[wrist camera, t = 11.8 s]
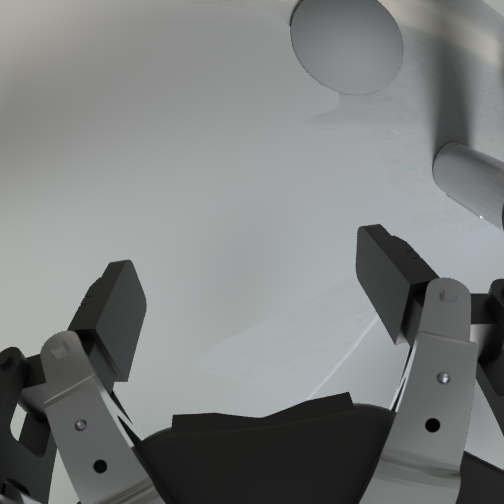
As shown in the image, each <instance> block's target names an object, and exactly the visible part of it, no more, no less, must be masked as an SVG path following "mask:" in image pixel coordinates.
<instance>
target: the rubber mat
mask: <svg viewBox="0 0 504 504" xmlns="http://www.w3.org/2000/svg"><path fill="white" fill-rule="evenodd" d="M290 32H291V41H292V46H293V49H294V52H295V54H296V56H297V58H298V60H299V62H300V63H301V65H302V66H303V68H304V69H305V70H306V71H307V72H308V73H309V74H310V75H311V76H312V77H313V78H314V79H315V80H316V81H318V82H319V83H321V84H322V85H324V86H326V87H328V88H329V89H332V90H334V91H337V92H340V93H344V94H350V95H365V94H370V93H373V92H376V91H379V90H381V89H382V88H384V87H385V86H387V85H388V84H389V83H390V82H391V81H392V80H393V79H394V78H395V76H396V75H397V73H398V71H399V70H400V67H401V64H402V60H403V51H404V50H403V40H402V36H401V33H400V30H399V28H398V25H397V23H396V22H395V20H394V18H393V17H392V15H391V14H390V13H389V12H388V10H387V9H386V8H385V7H384V6H383V5H382V4H380V3H379V2H378V1H377V0H303V2H302V3H301V4H300V5H299V6H298V8H297V9H296V11H295V13H294V16H293V18H292V22H291V31H290Z"/></svg>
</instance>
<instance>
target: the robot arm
mask: <svg viewBox="0 0 504 504" xmlns="http://www.w3.org/2000/svg"><path fill="white" fill-rule="evenodd" d="M433 175H434V180H435V182H436V184H437V186H438V187H439V188H440V189H441V190H443V191H444V192H446V193H447V195H448V197H450V198H451V199H453V200H454V201H456V202H457V203H459V204H460V205H462V206H463V207H465V208H466V209H468V210H469V211H470V212H472V213H473V214H475V215H476V216H478V217H479V218H482V217H483V218H484V219H486V220H487V221H488V222H490V223H491V224H493V225H494V226H495V227H497V228H498V229H499V230H501V231H502V232H503V233H504V162H502V161H500V160H497V159H495V158H493V157H491V156H488V155H486V154H484V153H481V152H479V151H477V150H474V149H472V148H469V147H467V146H464V145H462V144H459V143H456V142H451V143H448V144H446V145H444V146H443V147H442V148H441V149H440V151H439V152H438V154H437V156H436V158H435V161H434V166H433ZM357 234H358V235H357V253H356V274H357V278H358V280H359V282H360V284H361V286H362V287H363V289H364V291H365V293H366V294H367V296H368V298H369V299H370V301H371V303H372V305H373V306H374V308H375V310H376V312H377V313H378V315H379V317H380V319H381V320H382V322H383V324H384V325H385V327H386V329H387V331H388V333H389V335H390V337H391V338H392V340H393V342H394V344H395V345H398V344H402V343H405V342H408V343H409V345H410V348H409V351H408V354H407V358H406V361H405V364H404V368H403V371H402V375H401V378H400V381H399V384H398V387H397V390H396V393H395V396H394V398H393V401H392V404H391V406H390V408H389V409H386V408H383V407H379V406H375V405H370V404H360V403H353V402H352V400H351V397H350V394H349V392H346V393H342V394H337V395H333V396H328V397H323V398H318V399H314V400H308V401H305V402H302V403H300V404H297V405H295V406H293V407H290V408H288V409H285V410H282V411H280V412H277V413H275V414H272V415H269V416H266V417H262V418H254V417H244V416H236V415H227V414H220V413H203V414H183V415H173V419H172V427H170V428H167V429H164V430H161V431H158V432H156V433H154V434H152V435H150V436H149V437H147V438H144V436H143V435H142V434H141V432H140V431H139V430H138V428H137V427H136V425H135V423H134V422H133V420H132V419H131V417H130V415H129V414H128V412H127V411H126V409H125V407H124V406H123V404H122V402H121V401H120V399H119V397H118V396H117V394H116V392H115V391H114V390H113V386H114V382H127V381H128V378H129V373H130V369H131V365H132V361H133V357H134V353H135V350H136V346H137V342H138V338H139V335H140V331H141V327H142V324H143V320H144V317H145V313H146V298H145V295H144V292H143V290H142V286H141V284H140V281H139V279H138V276H137V273H136V270H135V268H134V265H133V263H132V262H131V260H123V261H117V262H111V263H109V264H108V266H107V268H106V270H105V272H104V273H103V275H102V277H101V278H99V279H98V280H96V282H94V283H93V284H92V285H91V286H90V288H89V290H88V291H87V293H86V295H85V298H84V299H83V301H82V302H81V306H79V308H78V310H77V312H76V314H75V316H74V318H73V320H72V322H71V323H70V325H69V327H68V330H67V331H62V332H59V333H57V334H55V335H53V336H52V337H50V338H49V339H48V340H47V341H46V342H45V343H44V345H43V347H42V349H41V352H40V354H38V355H35V356H31V357H28V358H25V356H24V355H23V354H22V352H21V351H20V350H19V349H18V348H17V347H9V348H7V349H5V350H3V351H2V352H1V353H0V504H48V500H49V492H50V485H51V479H52V472H53V467H54V462H55V457H56V451H57V448H58V451H59V453H60V456H61V458H62V461H63V464H64V466H65V468H66V471H67V473H68V476H69V478H70V480H71V482H72V485H73V487H74V489H75V491H76V493H77V495H78V497H79V500H80V501H79V502H78V503H77V504H504V465H503V470H502V469H500V468H498V467H496V466H494V465H492V464H490V463H488V462H486V461H484V460H482V459H480V458H478V457H476V456H474V455H472V454H470V453H468V452H466V451H464V448H465V443H466V438H467V433H468V428H469V423H470V416H471V410H472V403H473V395H474V386H475V378H476V380H477V381H478V383H479V385H480V387H481V389H482V391H483V393H484V395H485V397H486V399H487V401H488V403H489V405H490V407H491V409H492V411H493V413H494V416H495V418H496V420H497V422H498V424H499V426H500V429H501V431H502V433H503V436H504V279H497V280H495V281H493V282H492V284H491V286H490V289H489V292H488V294H470V292H469V290H468V289H467V288H466V287H465V285H463V284H462V283H460V282H459V281H457V280H454V279H451V278H440V277H439V276H438V275H437V274H436V273H435V272H434V271H433V270H432V269H431V268H430V267H429V265H428V264H427V263H426V262H425V261H424V260H423V259H422V258H420V256H419V255H418V254H417V252H416V251H414V249H413V248H412V247H411V246H410V245H409V244H408V243H407V242H406V241H404V240H402V239H400V238H398V237H396V236H391V235H390V234H389V233H388V232H387V231H386V229H385V228H384V227H382V225H380V224H376V225H368V226H361V227H359V229H358V233H357ZM17 403H18V404H19V405H20V406H21V407H22V408H23V409H24V410H25V411H26V412H27V414H26V417H25V421H24V424H23V427H22V431H21V434H20V437H19V441H17V440H16V439H15V438H14V437H13V435H12V433H11V429H10V424H11V420H12V417H13V414H14V411H15V408H16V405H17Z"/></svg>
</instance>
